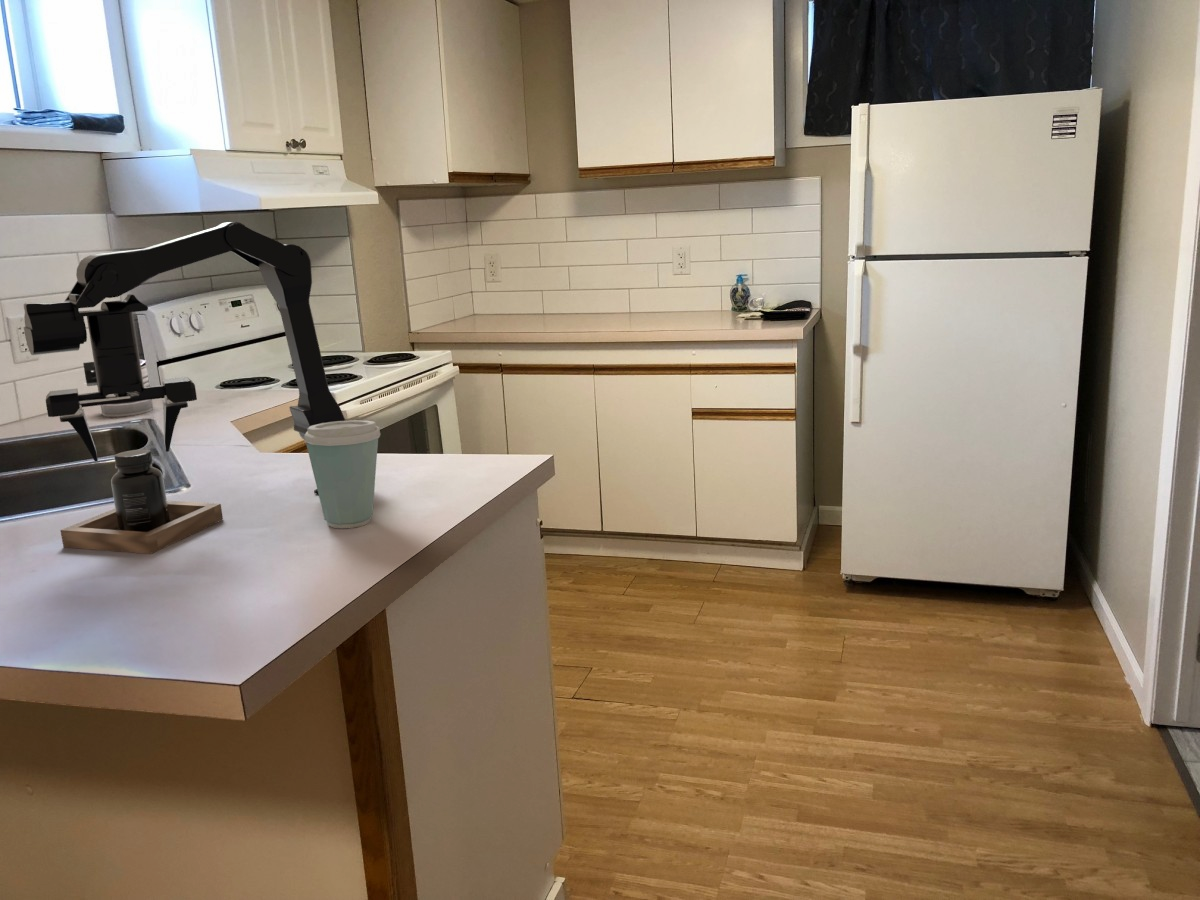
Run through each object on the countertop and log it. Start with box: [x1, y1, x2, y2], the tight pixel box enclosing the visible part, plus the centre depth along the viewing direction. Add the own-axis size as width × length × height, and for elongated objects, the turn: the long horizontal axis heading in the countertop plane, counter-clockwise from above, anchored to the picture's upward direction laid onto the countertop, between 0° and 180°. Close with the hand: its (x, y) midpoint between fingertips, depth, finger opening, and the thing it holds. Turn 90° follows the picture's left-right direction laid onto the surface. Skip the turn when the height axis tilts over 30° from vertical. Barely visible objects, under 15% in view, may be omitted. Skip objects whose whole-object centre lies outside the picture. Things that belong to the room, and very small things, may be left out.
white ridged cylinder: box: [96, 359, 154, 418], centre depth 235 cm, size 11×11×12 cm
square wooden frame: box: [59, 500, 224, 555], centre depth 141 cm, size 15×15×2 cm
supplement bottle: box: [110, 449, 171, 532], centre depth 140 cm, size 7×7×12 cm
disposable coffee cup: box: [303, 419, 381, 529], centre depth 141 cm, size 11×11×15 cm
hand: (132, 455), depth 139 cm, fingers open, 9 cm apart
